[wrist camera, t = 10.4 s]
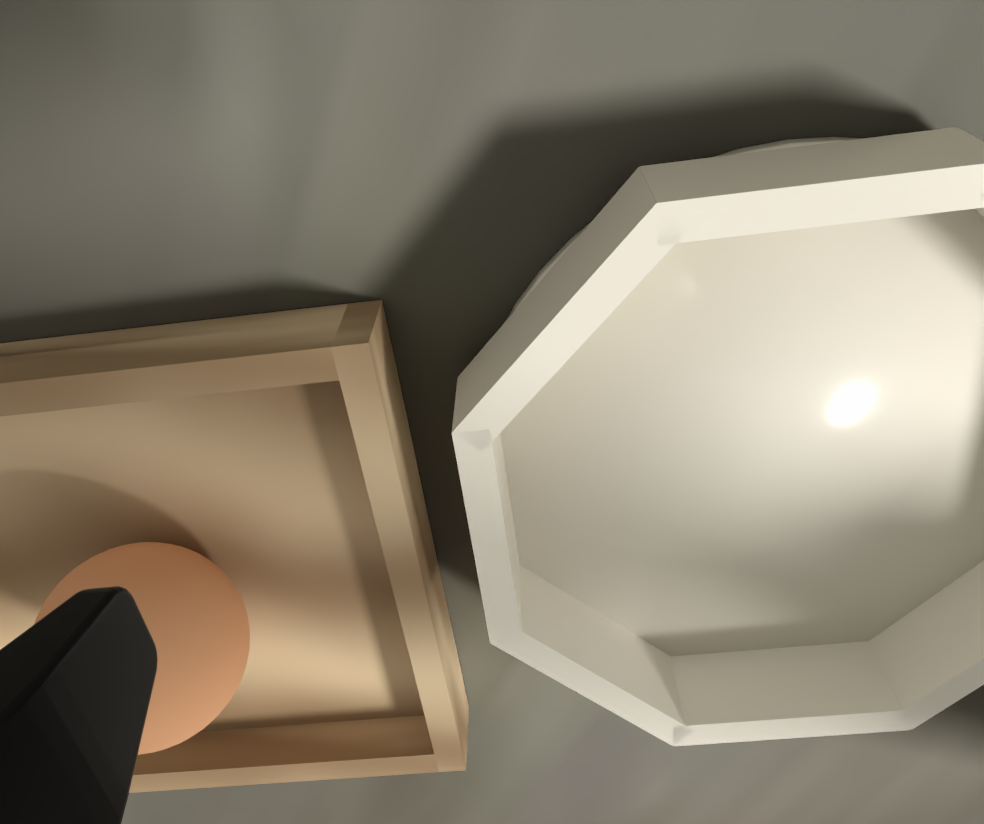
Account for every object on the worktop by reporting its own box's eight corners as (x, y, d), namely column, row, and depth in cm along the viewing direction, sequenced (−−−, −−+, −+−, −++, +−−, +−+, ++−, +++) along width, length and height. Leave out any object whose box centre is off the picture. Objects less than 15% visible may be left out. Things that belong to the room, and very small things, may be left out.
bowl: (1026, 632, 25) (1086, 718, 22) (511, 671, 26) (511, 757, 23) (1172, 91, 17) (1289, 126, 14) (428, 183, 18) (414, 232, 16)
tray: (469, 708, 27) (465, 769, 25) (45, 739, 28) (12, 800, 26) (382, 299, 20) (368, 343, 18) (-183, 364, 21) (-253, 411, 19)
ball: (288, 632, 24) (248, 790, 20) (117, 650, 24) (42, 810, 20) (238, 491, 22) (180, 637, 17) (48, 513, 22) (-56, 662, 18)
